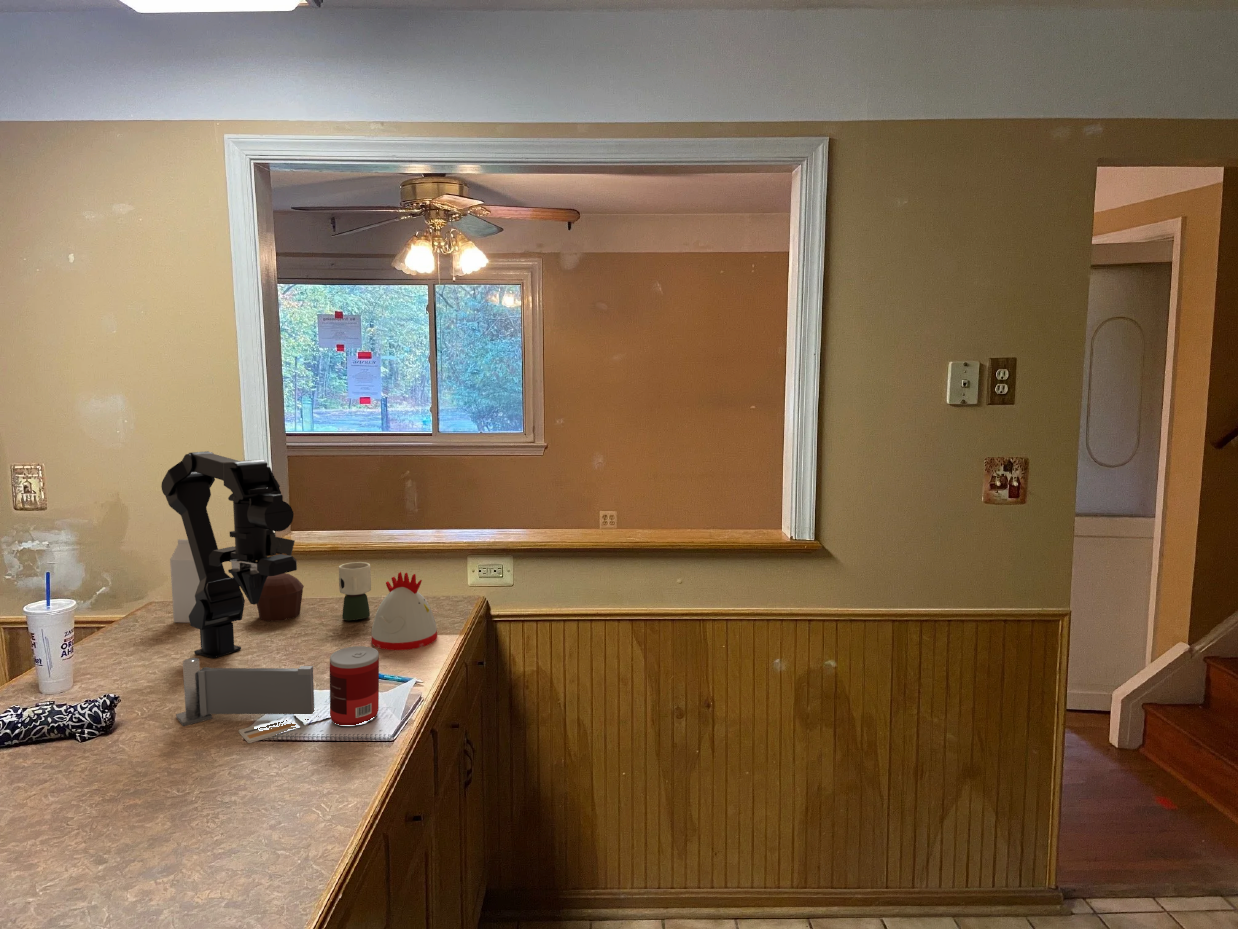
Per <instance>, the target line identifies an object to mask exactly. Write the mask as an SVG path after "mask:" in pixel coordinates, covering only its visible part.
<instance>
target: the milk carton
mask: <svg viewBox="0 0 1238 929" xmlns="http://www.w3.org/2000/svg"><path fill="white" fill-rule="evenodd" d="M169 563H170V564H169V566H170V578H171V579H170V581H171V582H170V583H171V597H172V598H171V599H172V613H173V614H172V615H173V616H172V617H173V623H190V621H189V614H190V613H191V611H192V609H193V607H194V606H195V604H196V600H195V593H196V591H197V588H198V585H199V582H200V581H199V576H198V573H197V569H196V566H195V562H194V559H193V555H192V552H191V548H190V545H189V541H188V539H184V538H183V539H177V544H176V547H175V549H174V551H173V553H172V555H171V556H170V559H169Z"/></svg>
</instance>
